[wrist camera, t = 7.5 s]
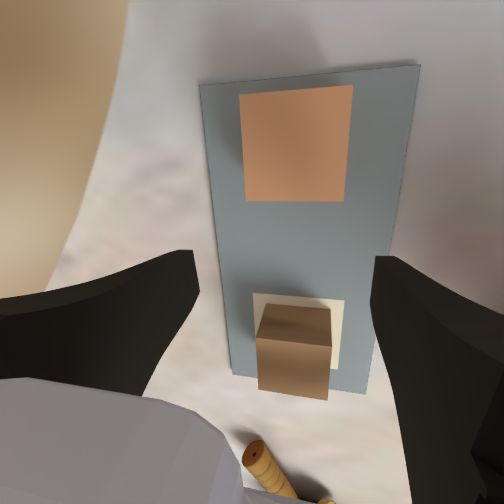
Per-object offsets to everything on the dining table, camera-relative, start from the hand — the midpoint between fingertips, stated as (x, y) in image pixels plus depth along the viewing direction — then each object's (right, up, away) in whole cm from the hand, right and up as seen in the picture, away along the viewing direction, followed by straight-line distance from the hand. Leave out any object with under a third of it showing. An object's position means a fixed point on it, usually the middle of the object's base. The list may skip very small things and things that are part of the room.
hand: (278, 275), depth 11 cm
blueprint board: (+2, 0, +10) cm, 10 cm away
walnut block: (+3, -6, +12) cm, 13 cm away
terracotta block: (+2, +7, +6) cm, 10 cm away
